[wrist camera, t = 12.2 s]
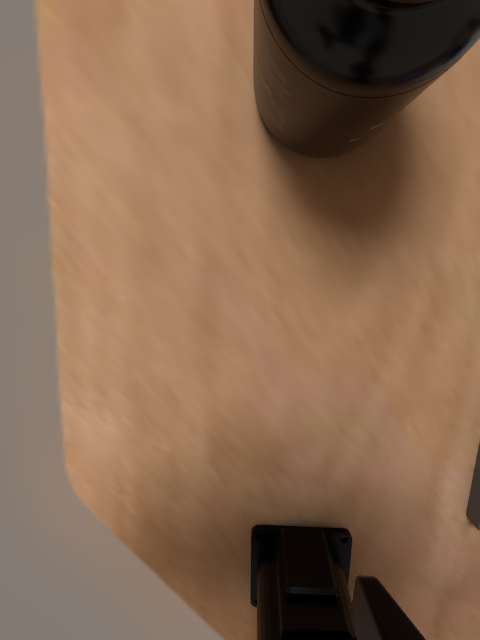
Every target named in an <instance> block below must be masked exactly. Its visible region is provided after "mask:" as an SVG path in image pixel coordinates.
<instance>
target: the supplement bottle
mask: <svg viewBox="0 0 480 640" xmlns="http://www.w3.org/2000/svg"><path fill="white" fill-rule="evenodd" d="M479 38H480V0H254V58H253V75H254V92H255V98H256V103H257V106H258V110H259V112H260V115H261V117H262V119H263V121H264V123H265V125H266V127H267V128H268V130H269V131H270V132H271V134H272V135H273V136H274V137H275V138H276V139H277V140H278V141H279V142H280V143H282V144H283V145H284V146H286V147H287V148H289V149H290V150H292V151H294V152H297V153H299V154H302V155H305V156H310V157H332V156H336V155H340V154H343V153H346V152H348V151H350V150H352V149H354V148H356V147H358V146H359V145H361V144H362V143H364V142H365V141H366V140H368V139H369V138H370V137H371V136H373V135H374V134H375V133H376V132H377V131H379V130H380V129H381V128H382V127H383V126H384V125H385V124H387V123H388V122H389V121H390V120H391V119H392V118H393V117H395V116H396V115H397V114H398V113H399V112H400V111H401V110H403V109H404V108H405V107H406V106H407V105H408V104H409V103H411V102H412V101H413V100H414V99H415V98H416V97H417V96H419V95H420V94H421V93H422V92H423V91H424V90H425V89H427V88H428V87H429V86H430V85H431V84H432V83H433V82H435V81H436V80H437V79H438V78H439V77H440V76H441V75H443V74H444V73H445V72H446V71H447V70H448V69H449V68H451V67H452V66H453V65H454V64H455V63H456V62H457V61H458V60H459V59H460V58H461V57H462V56H463V55H464V54H465V53H466V52H467V51H468V50H469V49H470V48H471V47H472V46H473V45H474V44H475V43H476V42H477V41H478V40H479Z"/></svg>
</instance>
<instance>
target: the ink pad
mask: <svg viewBox="0 0 480 640" xmlns="http://www.w3.org/2000/svg"><path fill="white" fill-rule="evenodd" d="M466 515H467V516H468V517H469V519H470V520H471V521H472V523H473V524H474V525H475V527H476V528H477V529H478V530H480V445H479V450H478V456H477V461H476V466H475V471H474V477H473V482H472V487H471V493H470V498H469V503H468V508H467V514H466Z"/></svg>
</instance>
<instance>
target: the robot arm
mask: <svg viewBox="0 0 480 640" xmlns="http://www.w3.org/2000/svg"><path fill="white" fill-rule="evenodd" d="M257 533H261V534H257ZM342 537H345V538H342ZM351 547H352V537H351V534H350V532H349V530H347V529H344V528H321V527H295V526H270V525H256V526H254V527H253V528H252V531H251V604H252V605H253V606H254V607H257V640H426V639H425V638H424V637H423V636H422V634H421V633H420V632H419V631H418V629H417V628H416V627H415V626H414V624H413V623H412V622H411V620H410V619H409V618H408V617H407V615H406V614H405V613H404V612H403V610H402V609H401V608H400V607H399V605H398V604H397V603H396V602H395V600H394V599H393V598H392V597H391V595H390V594H389V593H388V591H387V590H386V589H385V588H384V586H383V585H382V584H381V583H380V581H379V580H378V579H377V578H375V577H373V576H362V575H359V576H357V578H356V580H355V587H354V594H353V601H352V602H351V598H350V594H349V590H348V578H349V567H350V557H351Z"/></svg>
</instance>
